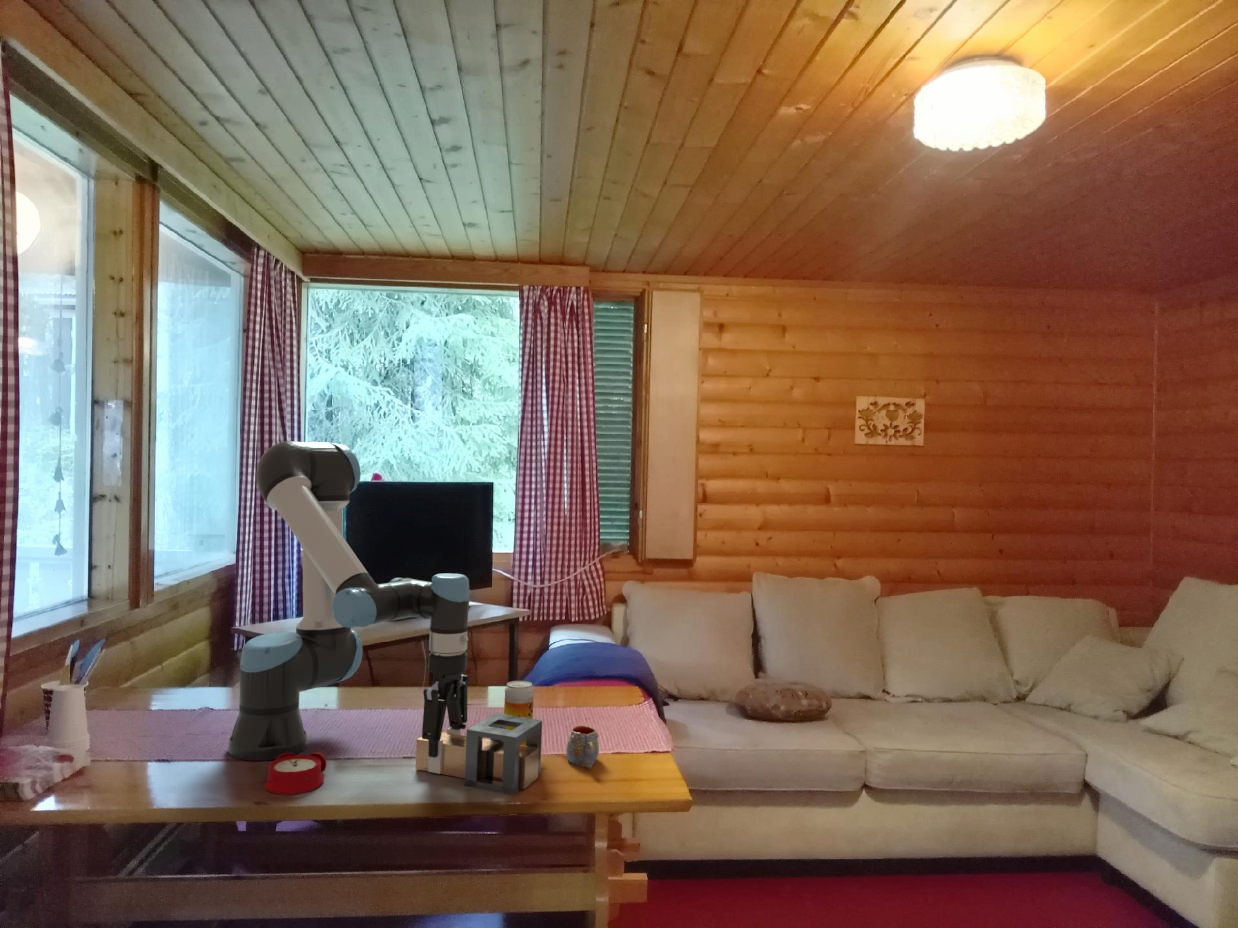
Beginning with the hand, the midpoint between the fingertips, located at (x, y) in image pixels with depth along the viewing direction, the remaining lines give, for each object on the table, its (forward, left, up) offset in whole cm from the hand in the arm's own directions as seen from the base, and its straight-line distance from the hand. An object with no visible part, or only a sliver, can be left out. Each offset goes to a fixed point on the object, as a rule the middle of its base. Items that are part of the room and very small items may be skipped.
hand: (443, 766), depth 171 cm
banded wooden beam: (+7, 0, 0) cm, 7 cm away
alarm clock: (-22, -17, -1) cm, 28 cm away
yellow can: (+9, +14, -1) cm, 17 cm away
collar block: (+13, 0, 0) cm, 13 cm away
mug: (+24, +15, -1) cm, 29 cm away
